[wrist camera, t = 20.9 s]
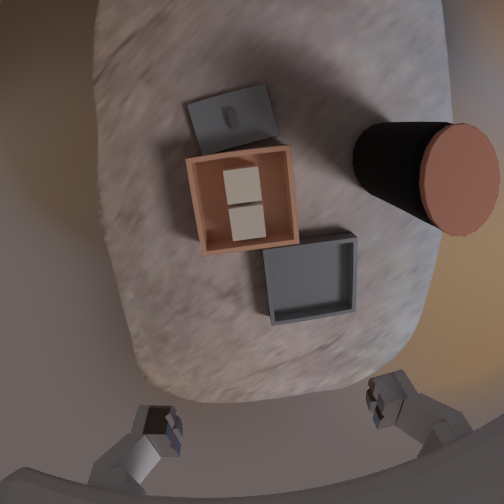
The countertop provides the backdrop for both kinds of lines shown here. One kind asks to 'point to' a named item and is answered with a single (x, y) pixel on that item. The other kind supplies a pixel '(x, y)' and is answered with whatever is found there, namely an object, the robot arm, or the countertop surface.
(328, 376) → the countertop surface
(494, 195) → the coffee jar
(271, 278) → the tray
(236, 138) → the tray lid
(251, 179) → the cream cube
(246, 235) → the stone
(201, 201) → the terracotta bin
